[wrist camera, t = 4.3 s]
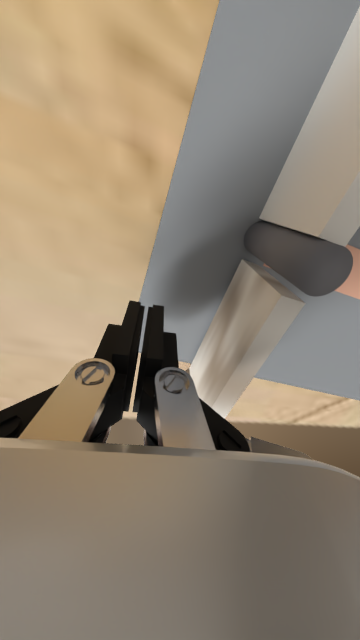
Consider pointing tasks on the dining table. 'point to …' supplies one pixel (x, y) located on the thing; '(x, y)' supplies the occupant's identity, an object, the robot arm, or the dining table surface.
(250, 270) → the hinged panel
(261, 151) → the board
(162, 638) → the robot arm
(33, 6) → the dining table surface
